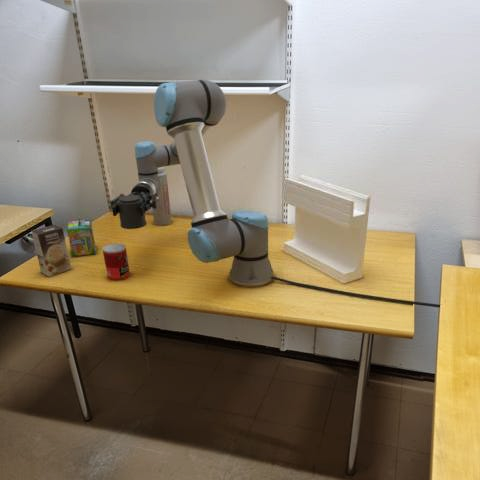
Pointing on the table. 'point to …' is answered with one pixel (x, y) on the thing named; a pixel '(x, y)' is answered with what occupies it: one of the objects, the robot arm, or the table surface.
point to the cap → (131, 212)
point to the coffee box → (51, 250)
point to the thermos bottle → (162, 201)
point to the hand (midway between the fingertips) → (127, 211)
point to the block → (328, 227)
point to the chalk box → (81, 237)
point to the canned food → (116, 261)
